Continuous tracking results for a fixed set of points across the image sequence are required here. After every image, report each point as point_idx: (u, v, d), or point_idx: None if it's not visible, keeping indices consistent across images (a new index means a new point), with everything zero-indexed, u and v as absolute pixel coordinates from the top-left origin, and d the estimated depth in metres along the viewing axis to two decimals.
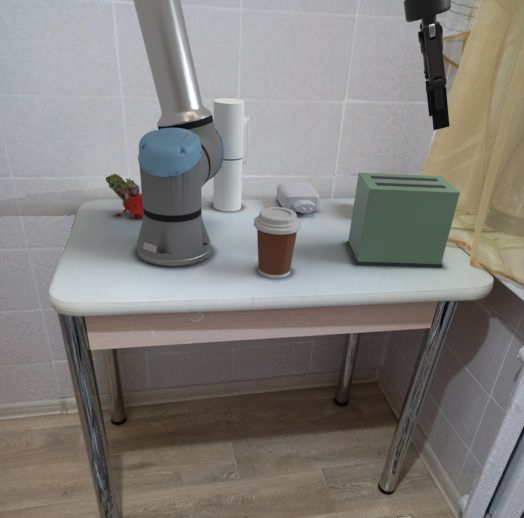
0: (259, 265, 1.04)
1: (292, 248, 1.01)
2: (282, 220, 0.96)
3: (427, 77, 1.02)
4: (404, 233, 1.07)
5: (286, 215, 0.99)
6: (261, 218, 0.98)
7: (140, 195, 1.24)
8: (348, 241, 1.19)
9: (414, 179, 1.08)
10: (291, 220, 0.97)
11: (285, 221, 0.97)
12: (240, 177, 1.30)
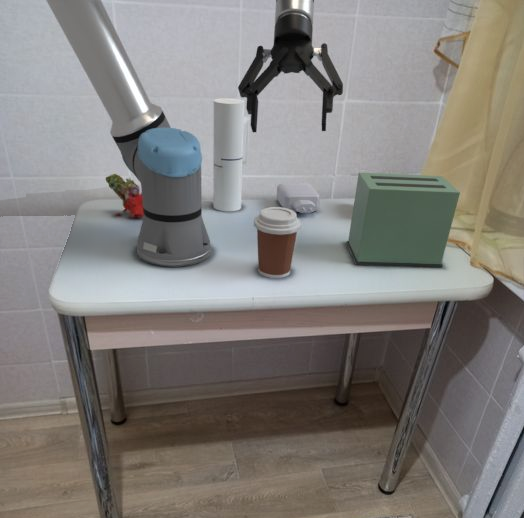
0: (259, 265, 1.04)
1: (292, 248, 1.01)
2: (282, 220, 0.96)
3: (253, 92, 1.02)
4: (404, 233, 1.07)
5: (286, 215, 0.99)
6: (261, 218, 0.98)
7: (140, 195, 1.24)
8: (348, 241, 1.19)
9: (414, 179, 1.08)
10: (291, 220, 0.97)
11: (285, 221, 0.97)
12: (240, 177, 1.30)
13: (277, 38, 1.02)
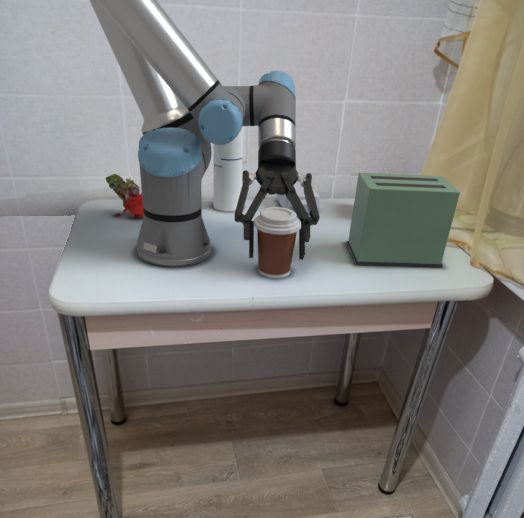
0: (259, 265, 1.04)
1: (292, 248, 1.01)
2: (282, 220, 0.96)
3: (250, 218, 1.01)
4: (404, 233, 1.07)
5: (286, 215, 0.99)
6: (261, 218, 0.98)
7: (140, 195, 1.24)
8: (348, 241, 1.19)
9: (414, 179, 1.08)
10: (291, 220, 0.97)
11: (285, 221, 0.97)
12: (240, 177, 1.30)
13: (262, 161, 1.03)
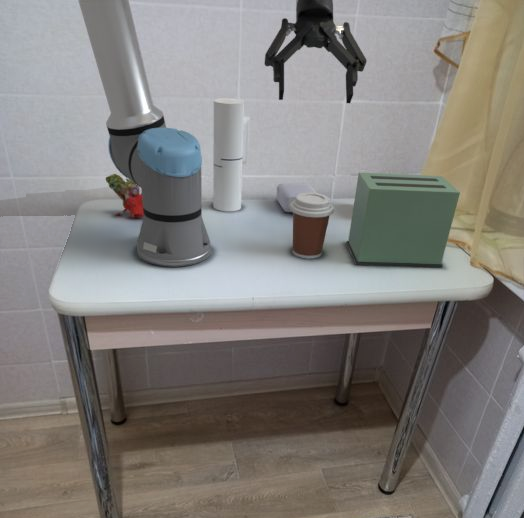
0: (293, 247, 1.12)
1: (325, 230, 1.10)
2: (317, 204, 1.05)
3: (280, 60, 1.04)
4: (404, 233, 1.07)
5: (320, 200, 1.07)
6: (297, 202, 1.07)
7: (140, 195, 1.24)
8: (348, 241, 1.19)
9: (414, 179, 1.08)
10: (325, 204, 1.06)
11: (320, 205, 1.05)
12: (240, 177, 1.30)
13: (301, 13, 1.06)
